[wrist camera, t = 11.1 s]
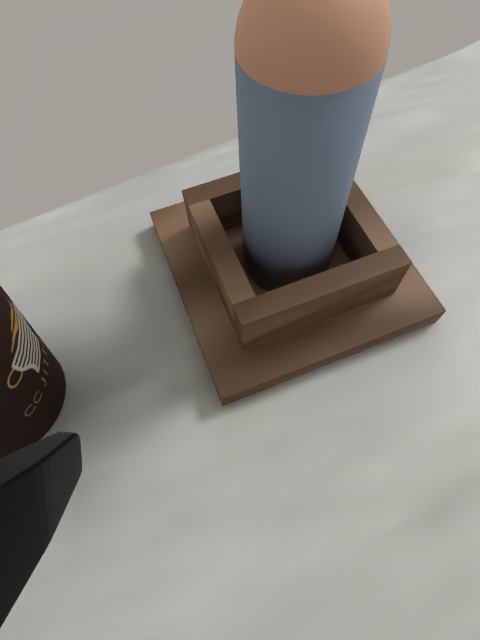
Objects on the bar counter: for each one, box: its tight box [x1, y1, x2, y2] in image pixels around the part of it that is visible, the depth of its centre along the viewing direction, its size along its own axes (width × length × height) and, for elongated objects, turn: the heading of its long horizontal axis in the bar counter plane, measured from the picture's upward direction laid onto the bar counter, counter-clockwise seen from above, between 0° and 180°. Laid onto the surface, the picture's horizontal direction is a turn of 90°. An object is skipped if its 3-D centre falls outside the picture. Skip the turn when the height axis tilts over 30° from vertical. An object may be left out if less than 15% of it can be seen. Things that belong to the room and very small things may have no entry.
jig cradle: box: [150, 172, 446, 405], centre depth 24 cm, size 13×13×4 cm
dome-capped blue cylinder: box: [234, 0, 391, 291], centre depth 18 cm, size 5×5×14 cm
